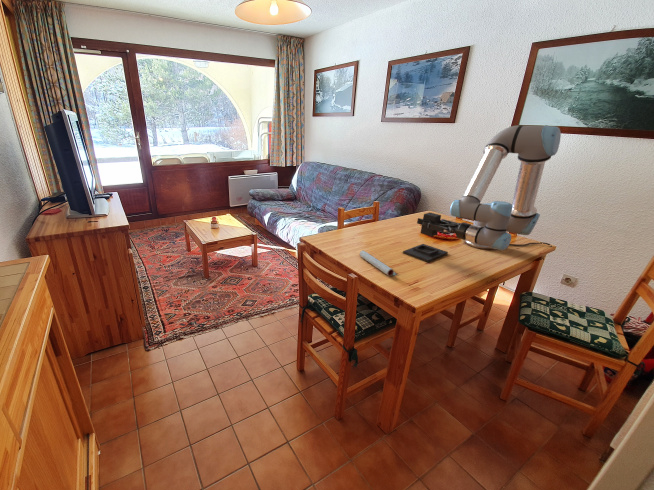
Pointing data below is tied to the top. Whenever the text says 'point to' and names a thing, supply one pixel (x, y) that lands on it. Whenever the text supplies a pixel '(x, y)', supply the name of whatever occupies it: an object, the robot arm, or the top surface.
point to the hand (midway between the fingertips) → (421, 219)
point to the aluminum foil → (377, 263)
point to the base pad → (425, 252)
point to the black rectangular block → (433, 218)
